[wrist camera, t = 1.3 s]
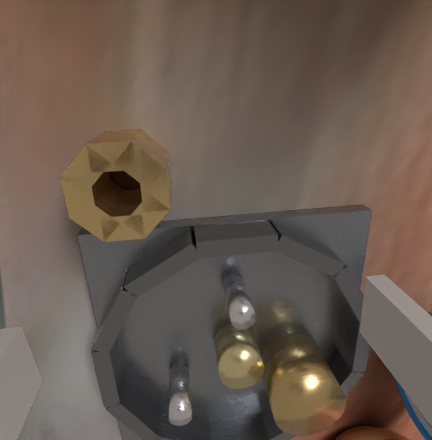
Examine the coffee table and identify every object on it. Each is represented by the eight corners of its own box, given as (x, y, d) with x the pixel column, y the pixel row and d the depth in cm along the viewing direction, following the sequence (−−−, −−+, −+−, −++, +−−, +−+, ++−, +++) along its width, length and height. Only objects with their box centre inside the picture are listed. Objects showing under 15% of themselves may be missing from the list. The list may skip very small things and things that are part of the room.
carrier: (82, 228, 28) (52, 274, 21) (362, 204, 30) (419, 239, 23) (124, 430, 37) (114, 508, 30) (335, 399, 40) (370, 465, 33)
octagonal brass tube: (79, 132, 25) (52, 145, 19) (165, 128, 26) (163, 139, 20) (94, 213, 27) (75, 244, 22) (173, 206, 28) (173, 236, 23)
